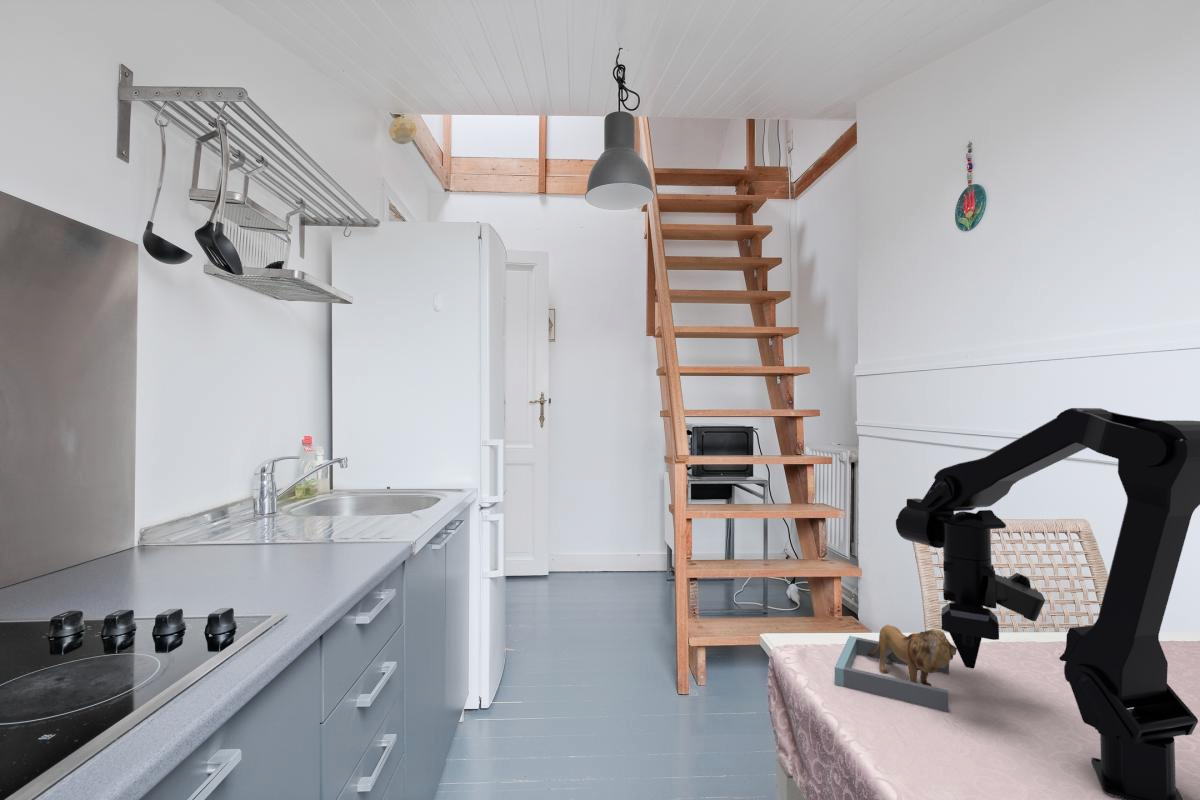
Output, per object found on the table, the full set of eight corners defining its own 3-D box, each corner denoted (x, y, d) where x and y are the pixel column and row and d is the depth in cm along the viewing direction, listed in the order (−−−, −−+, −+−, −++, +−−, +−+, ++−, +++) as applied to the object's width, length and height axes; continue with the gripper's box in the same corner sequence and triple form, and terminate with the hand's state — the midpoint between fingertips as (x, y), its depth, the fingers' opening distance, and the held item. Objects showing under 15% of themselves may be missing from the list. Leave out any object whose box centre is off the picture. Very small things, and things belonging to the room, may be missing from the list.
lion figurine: (964, 698, 78) (963, 633, 78) (936, 705, 76) (935, 638, 76) (878, 655, 91) (878, 600, 92) (853, 660, 90) (852, 604, 90)
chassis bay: (948, 712, 74) (948, 693, 74) (834, 684, 82) (834, 667, 82) (949, 671, 86) (949, 655, 86) (849, 650, 93) (849, 635, 93)
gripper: (1048, 580, 67) (1052, 712, 66) (1030, 549, 83) (1033, 656, 82) (940, 567, 73) (942, 688, 72) (942, 541, 89) (945, 640, 88)
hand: (969, 666), depth 79 cm, fingers closed
